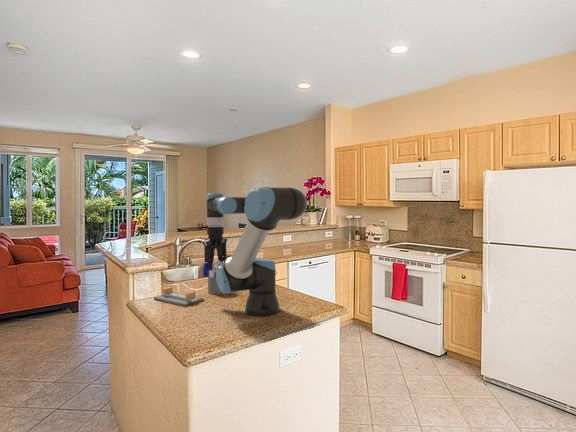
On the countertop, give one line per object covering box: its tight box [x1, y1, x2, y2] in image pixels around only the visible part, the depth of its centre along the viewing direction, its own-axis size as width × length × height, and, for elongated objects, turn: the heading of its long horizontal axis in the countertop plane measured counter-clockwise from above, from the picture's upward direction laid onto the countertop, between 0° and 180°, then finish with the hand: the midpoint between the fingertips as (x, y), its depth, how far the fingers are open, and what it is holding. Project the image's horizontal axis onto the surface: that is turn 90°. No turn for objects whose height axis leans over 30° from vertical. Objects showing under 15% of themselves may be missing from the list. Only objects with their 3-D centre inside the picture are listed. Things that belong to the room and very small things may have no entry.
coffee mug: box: [207, 276, 224, 295], centre depth 191 cm, size 13×10×10 cm
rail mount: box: [153, 286, 205, 308], centre depth 173 cm, size 22×12×5 cm, turn 58°
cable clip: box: [203, 262, 220, 278], centre depth 165 cm, size 12×4×6 cm, turn 53°
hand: (216, 275), depth 165 cm, fingers closed on cable clip, 5 cm apart
